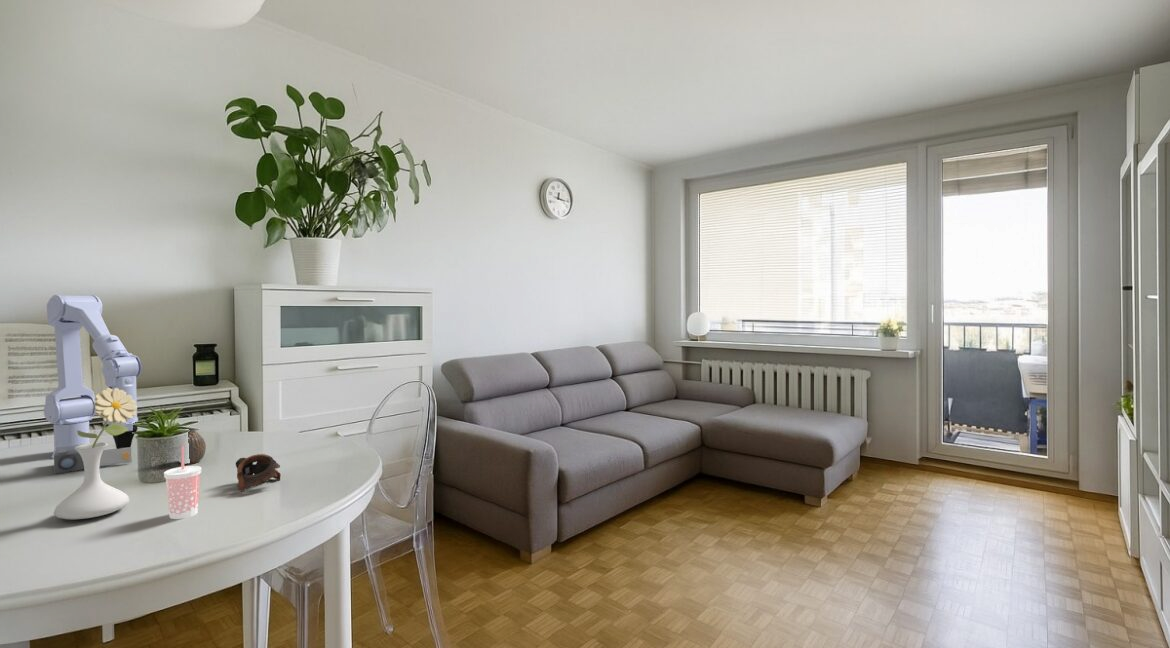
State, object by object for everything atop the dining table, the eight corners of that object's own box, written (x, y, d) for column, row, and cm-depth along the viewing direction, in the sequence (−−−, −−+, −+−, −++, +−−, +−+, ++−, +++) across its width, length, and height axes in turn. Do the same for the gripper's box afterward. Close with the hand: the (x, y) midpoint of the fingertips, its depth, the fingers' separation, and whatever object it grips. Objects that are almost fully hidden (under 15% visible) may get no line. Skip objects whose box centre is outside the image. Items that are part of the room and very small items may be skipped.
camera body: (57, 464, 144) (56, 445, 144) (88, 460, 148) (87, 441, 148) (54, 475, 136) (53, 454, 135) (87, 470, 140) (86, 450, 139)
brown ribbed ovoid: (212, 459, 150) (211, 426, 150) (191, 466, 144) (191, 432, 143) (188, 458, 151) (188, 426, 151) (167, 465, 144) (166, 432, 144)
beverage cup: (180, 508, 115) (179, 441, 114) (209, 509, 114) (208, 441, 114) (156, 520, 108) (155, 449, 108) (187, 520, 108) (186, 449, 108)
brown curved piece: (293, 482, 134) (287, 457, 129) (261, 511, 126) (253, 486, 122) (254, 465, 137) (247, 440, 132) (220, 492, 129) (211, 467, 125)
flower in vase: (65, 530, 104) (61, 396, 103) (45, 517, 110) (41, 390, 109) (149, 508, 115) (146, 387, 114) (126, 497, 121) (123, 382, 120)
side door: (131, 461, 146) (131, 447, 146) (131, 462, 145) (131, 448, 145) (90, 466, 142) (89, 451, 141) (89, 467, 140) (88, 452, 140)
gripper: (98, 400, 148) (100, 451, 148) (106, 408, 138) (107, 462, 138) (132, 397, 153) (133, 446, 153) (142, 404, 143) (143, 457, 143)
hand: (123, 454), depth 146 cm, fingers closed
